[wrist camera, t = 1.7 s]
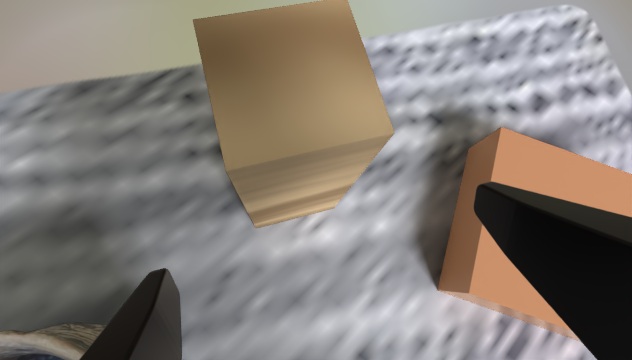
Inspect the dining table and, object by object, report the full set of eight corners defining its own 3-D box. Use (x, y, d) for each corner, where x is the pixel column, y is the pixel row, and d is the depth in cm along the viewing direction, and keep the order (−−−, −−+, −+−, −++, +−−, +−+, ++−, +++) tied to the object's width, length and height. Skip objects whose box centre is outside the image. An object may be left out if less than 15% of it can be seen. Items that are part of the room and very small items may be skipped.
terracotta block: (583, 343, 21) (650, 359, 17) (434, 289, 21) (468, 293, 17) (597, 197, 24) (657, 183, 20) (466, 150, 24) (501, 126, 20)
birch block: (333, 208, 22) (394, 132, 10) (255, 228, 21) (225, 171, 9) (312, 137, 23) (346, -4, 11) (238, 153, 22) (192, 19, 10)
